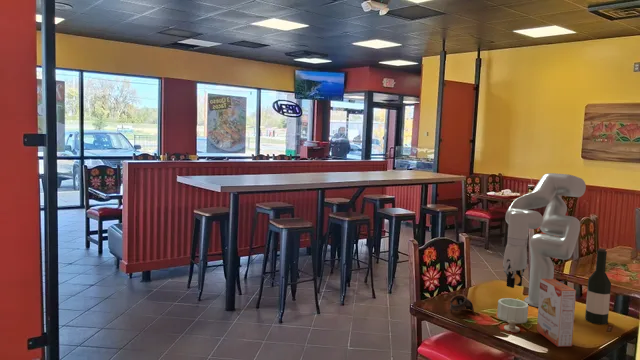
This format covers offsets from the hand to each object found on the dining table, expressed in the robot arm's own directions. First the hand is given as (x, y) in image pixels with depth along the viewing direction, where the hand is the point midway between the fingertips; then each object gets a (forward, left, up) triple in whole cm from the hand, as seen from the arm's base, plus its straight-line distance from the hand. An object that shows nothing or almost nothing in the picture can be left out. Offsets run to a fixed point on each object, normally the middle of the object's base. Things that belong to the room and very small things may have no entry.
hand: (514, 285), depth 196 cm
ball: (0, 0, +3) cm, 3 cm away
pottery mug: (+12, -16, -14) cm, 24 cm away
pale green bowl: (0, 0, -14) cm, 14 cm away
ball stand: (+11, +7, -14) cm, 19 cm away
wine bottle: (-28, +20, -14) cm, 37 cm away
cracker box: (+5, +20, -14) cm, 25 cm away
